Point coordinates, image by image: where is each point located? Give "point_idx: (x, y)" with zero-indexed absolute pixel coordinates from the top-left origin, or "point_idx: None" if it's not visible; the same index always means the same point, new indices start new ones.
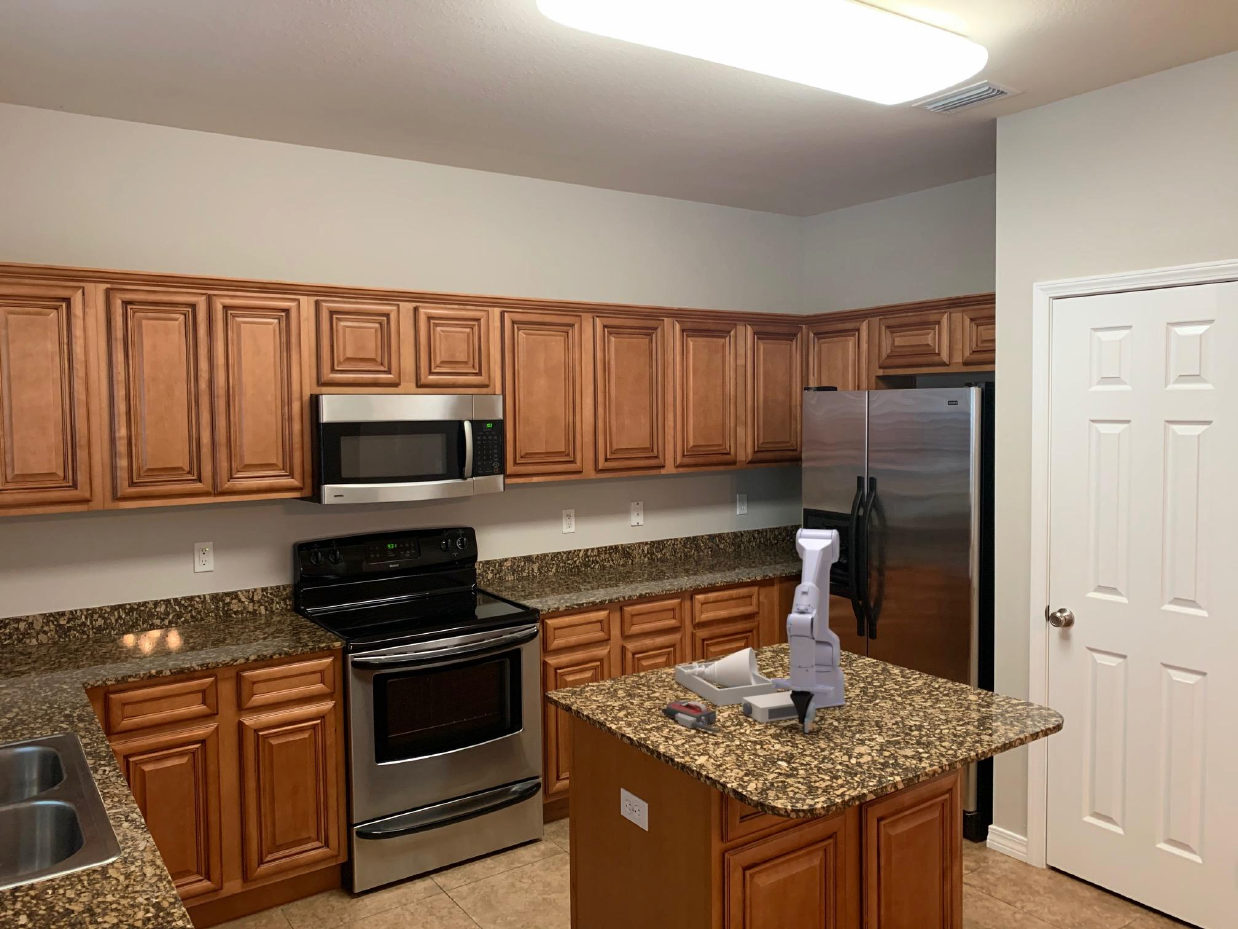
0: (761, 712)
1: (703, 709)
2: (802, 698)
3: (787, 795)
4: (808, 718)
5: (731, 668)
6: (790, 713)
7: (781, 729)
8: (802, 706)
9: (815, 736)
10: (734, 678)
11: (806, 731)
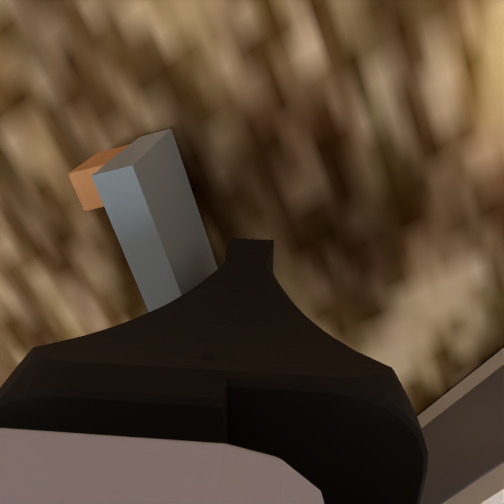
0: None
1: None
2: (74, 358)
3: None
4: (115, 220)
5: None
6: (431, 443)
7: (421, 147)
8: (169, 310)
9: (73, 123)
10: None
11: (154, 136)
